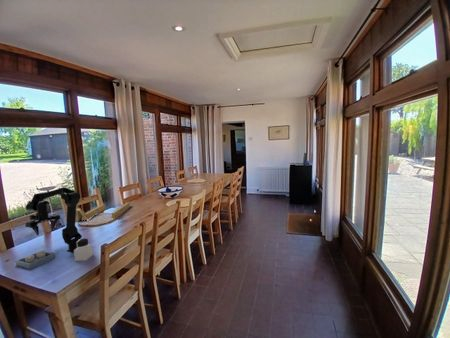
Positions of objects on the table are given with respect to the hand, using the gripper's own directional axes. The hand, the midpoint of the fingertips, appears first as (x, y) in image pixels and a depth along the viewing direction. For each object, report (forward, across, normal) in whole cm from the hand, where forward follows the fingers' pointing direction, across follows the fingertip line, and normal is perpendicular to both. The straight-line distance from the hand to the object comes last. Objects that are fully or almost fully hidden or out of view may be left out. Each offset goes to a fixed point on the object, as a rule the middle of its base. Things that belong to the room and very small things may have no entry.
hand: (45, 232), depth 154 cm
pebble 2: (+12, +11, +13) cm, 21 cm away
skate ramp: (+13, -67, -23) cm, 72 cm away
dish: (+12, +14, +13) cm, 23 cm away
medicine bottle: (+12, +2, +39) cm, 41 cm away
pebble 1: (+12, +17, +13) cm, 24 cm away
